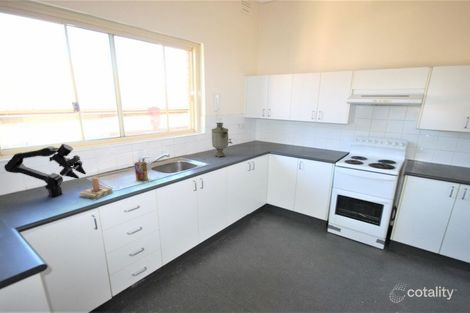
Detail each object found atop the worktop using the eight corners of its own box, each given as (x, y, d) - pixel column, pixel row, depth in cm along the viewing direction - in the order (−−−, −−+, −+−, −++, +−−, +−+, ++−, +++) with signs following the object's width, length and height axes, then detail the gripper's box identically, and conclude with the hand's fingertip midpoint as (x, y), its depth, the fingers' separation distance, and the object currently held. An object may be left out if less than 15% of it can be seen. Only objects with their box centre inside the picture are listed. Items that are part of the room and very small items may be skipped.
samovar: (235, 159, 267) (236, 124, 258) (213, 159, 262) (212, 124, 252) (230, 153, 295) (231, 121, 286) (210, 153, 290) (209, 121, 280)
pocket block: (95, 199, 155) (94, 195, 154) (80, 196, 160) (80, 192, 159) (112, 192, 168) (112, 188, 167) (98, 189, 173) (98, 185, 172)
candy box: (147, 178, 198) (146, 161, 195) (147, 179, 194) (146, 162, 191) (136, 178, 196) (135, 161, 193) (135, 180, 192) (134, 162, 188)
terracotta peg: (96, 195, 162) (94, 179, 159) (92, 194, 163) (90, 178, 160) (101, 193, 165) (99, 177, 162) (97, 192, 167) (95, 176, 164)
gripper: (61, 155, 146) (82, 172, 150) (77, 149, 164) (96, 164, 168) (50, 168, 147) (71, 183, 151) (67, 160, 165) (86, 174, 169)
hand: (82, 176), depth 160 cm, fingers open, 9 cm apart
